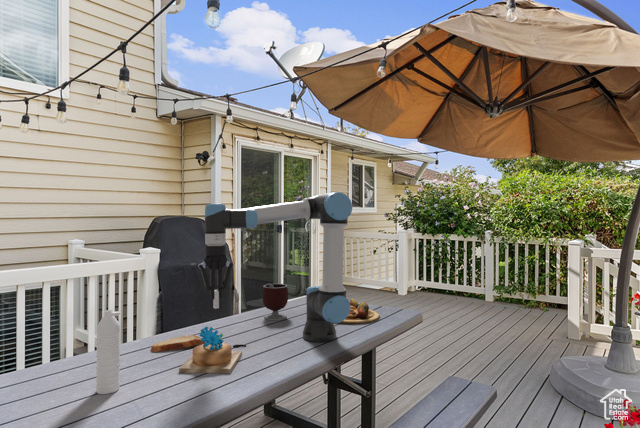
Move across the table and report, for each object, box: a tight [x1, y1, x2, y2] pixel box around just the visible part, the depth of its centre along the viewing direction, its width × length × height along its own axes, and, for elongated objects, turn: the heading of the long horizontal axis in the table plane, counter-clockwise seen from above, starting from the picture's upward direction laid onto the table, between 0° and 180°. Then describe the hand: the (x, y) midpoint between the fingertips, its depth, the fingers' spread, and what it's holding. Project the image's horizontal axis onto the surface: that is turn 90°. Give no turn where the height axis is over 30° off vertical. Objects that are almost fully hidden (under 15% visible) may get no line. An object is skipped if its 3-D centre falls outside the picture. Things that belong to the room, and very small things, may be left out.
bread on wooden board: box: [178, 342, 243, 374], centre depth 147 cm, size 18×18×6 cm
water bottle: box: [95, 309, 121, 395], centre depth 124 cm, size 9×6×25 cm
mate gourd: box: [261, 282, 289, 321], centre depth 214 cm, size 16×14×20 cm
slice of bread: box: [150, 334, 206, 353], centre depth 167 cm, size 18×18×4 cm
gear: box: [198, 326, 224, 350], centre depth 148 cm, size 11×6×10 cm
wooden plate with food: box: [336, 298, 380, 326], centre depth 216 cm, size 32×32×8 cm
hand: (216, 307), depth 149 cm, fingers closed
